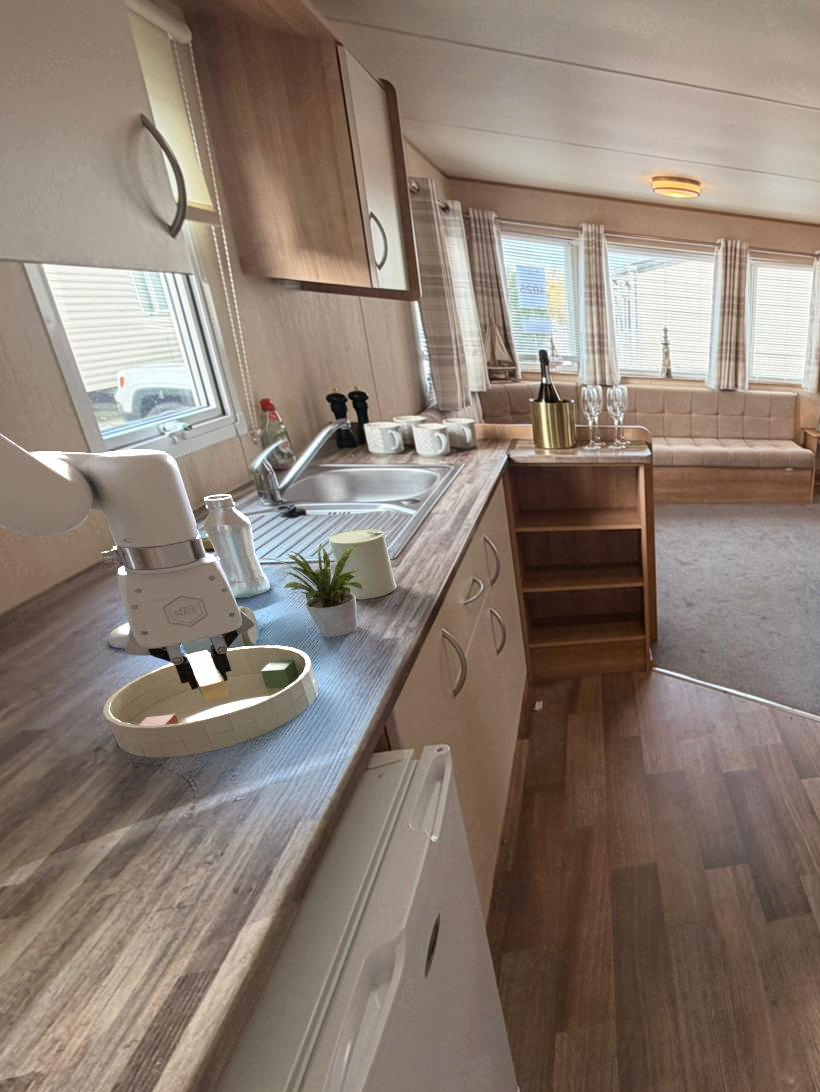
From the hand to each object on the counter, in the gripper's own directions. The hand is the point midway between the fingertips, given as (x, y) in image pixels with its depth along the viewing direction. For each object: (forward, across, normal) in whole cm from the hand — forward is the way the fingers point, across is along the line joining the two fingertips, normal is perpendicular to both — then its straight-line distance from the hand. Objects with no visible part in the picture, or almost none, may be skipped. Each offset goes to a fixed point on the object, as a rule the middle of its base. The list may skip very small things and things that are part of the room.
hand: (208, 680), depth 86 cm
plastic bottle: (+5, +12, +43) cm, 45 cm away
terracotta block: (+5, -6, -4) cm, 9 cm away
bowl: (+5, +1, 0) cm, 6 cm away
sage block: (+5, +8, +3) cm, 10 cm away
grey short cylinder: (+6, +5, +23) cm, 24 cm away
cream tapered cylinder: (+5, +29, +33) cm, 44 cm away
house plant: (+5, +18, +17) cm, 25 cm away
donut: (+6, -3, +32) cm, 33 cm away
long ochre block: (0, 0, 0) cm, 0 cm away
